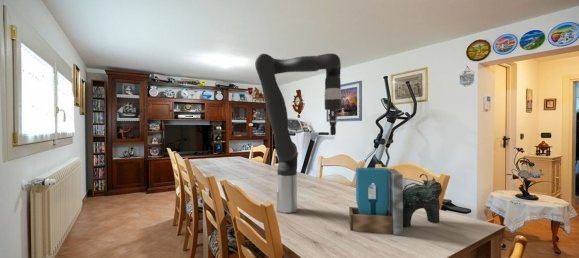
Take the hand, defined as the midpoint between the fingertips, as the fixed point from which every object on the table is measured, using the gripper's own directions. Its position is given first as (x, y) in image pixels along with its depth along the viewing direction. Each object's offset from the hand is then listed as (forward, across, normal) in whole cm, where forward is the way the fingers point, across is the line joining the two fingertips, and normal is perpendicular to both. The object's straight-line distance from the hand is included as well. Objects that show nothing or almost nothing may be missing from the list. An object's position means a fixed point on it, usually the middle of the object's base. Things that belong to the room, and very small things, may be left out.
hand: (333, 134), depth 121 cm
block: (+33, +14, +15) cm, 39 cm away
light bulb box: (+36, -20, +23) cm, 47 cm away
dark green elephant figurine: (+36, +7, +35) cm, 51 cm away
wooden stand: (+36, +14, +16) cm, 42 cm away
